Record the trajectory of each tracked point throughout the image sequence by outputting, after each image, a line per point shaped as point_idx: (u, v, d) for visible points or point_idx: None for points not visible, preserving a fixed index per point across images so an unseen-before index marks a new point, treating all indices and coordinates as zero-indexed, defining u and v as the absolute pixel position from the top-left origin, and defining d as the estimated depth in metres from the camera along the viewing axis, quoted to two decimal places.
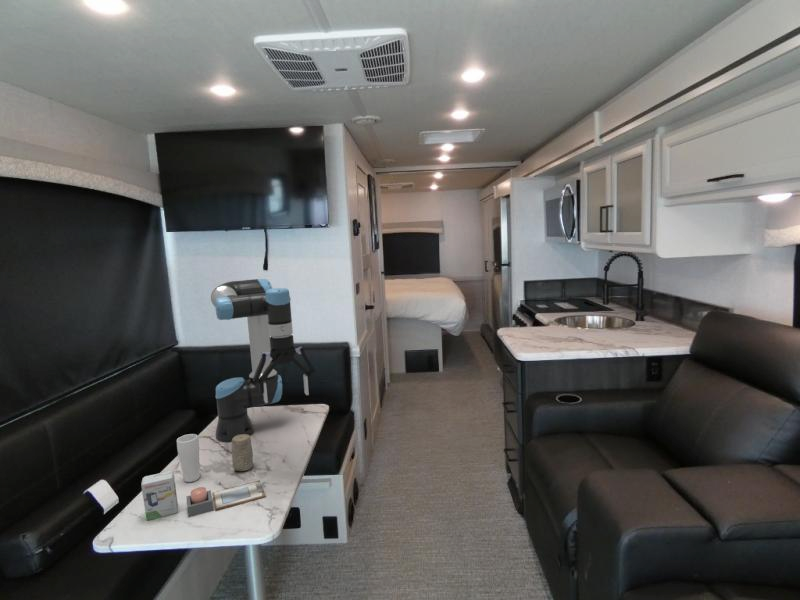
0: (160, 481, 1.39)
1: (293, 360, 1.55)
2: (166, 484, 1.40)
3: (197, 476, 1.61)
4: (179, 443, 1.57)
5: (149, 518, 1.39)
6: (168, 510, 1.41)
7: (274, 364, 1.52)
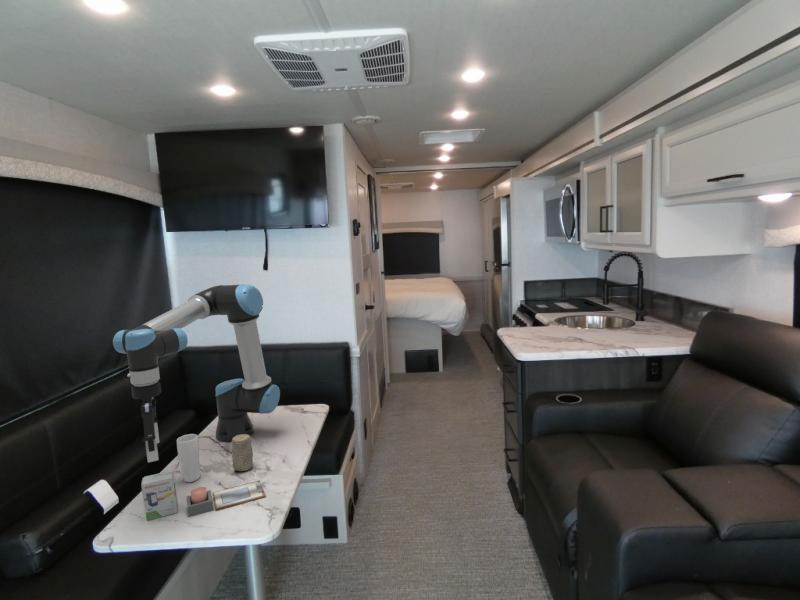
0: (160, 481, 1.39)
1: None
2: (166, 484, 1.40)
3: (197, 476, 1.61)
4: (179, 443, 1.57)
5: (149, 518, 1.39)
6: (168, 510, 1.41)
7: None
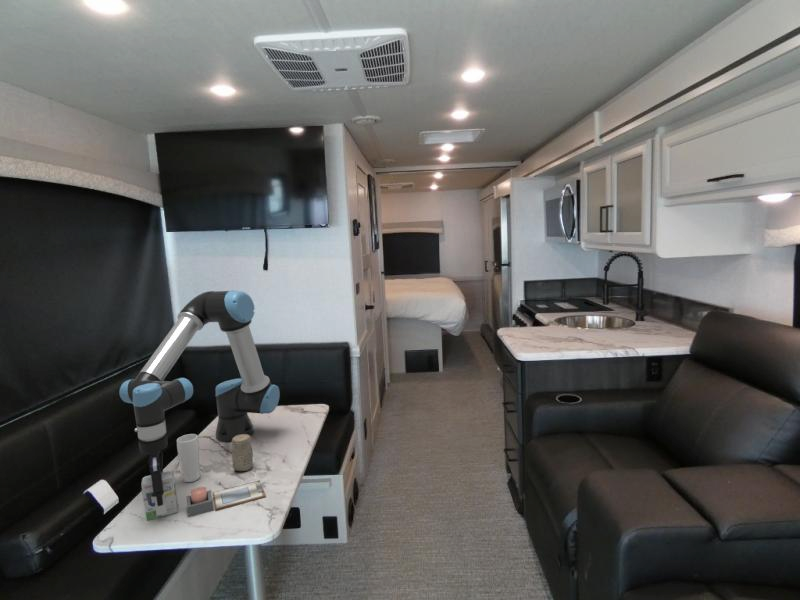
0: None
1: (149, 469, 1.38)
2: (166, 484, 1.40)
3: (197, 476, 1.61)
4: (179, 443, 1.57)
5: (149, 518, 1.39)
6: (168, 510, 1.41)
7: None
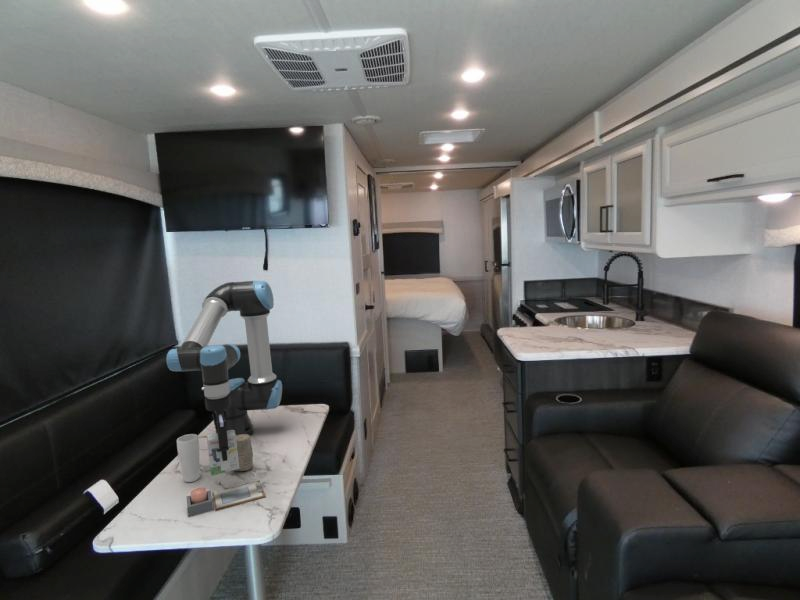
0: None
1: (215, 426, 1.46)
2: (230, 441, 1.48)
3: (197, 476, 1.61)
4: (179, 443, 1.57)
5: (214, 473, 1.47)
6: (231, 466, 1.48)
7: (214, 423, 1.49)
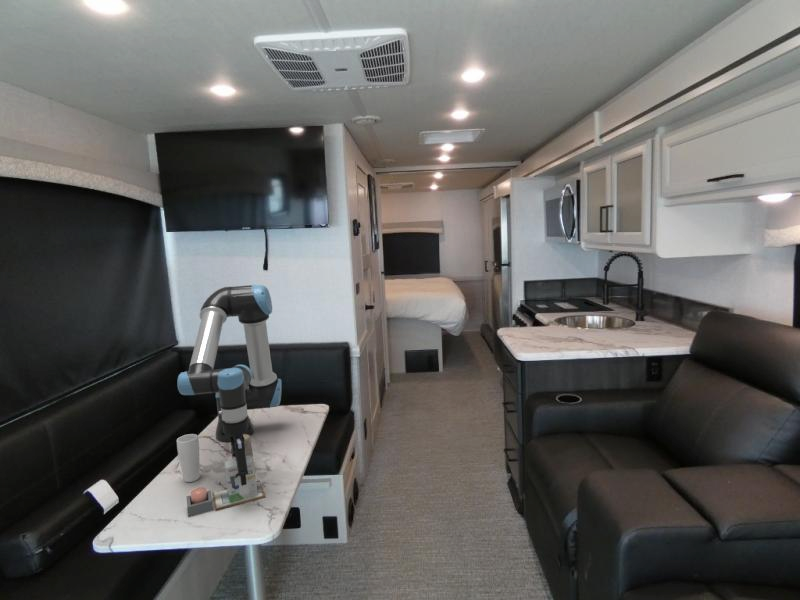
0: None
1: (233, 449, 1.43)
2: (248, 468, 1.46)
3: (197, 476, 1.61)
4: (179, 443, 1.57)
5: (232, 500, 1.45)
6: (249, 493, 1.47)
7: None
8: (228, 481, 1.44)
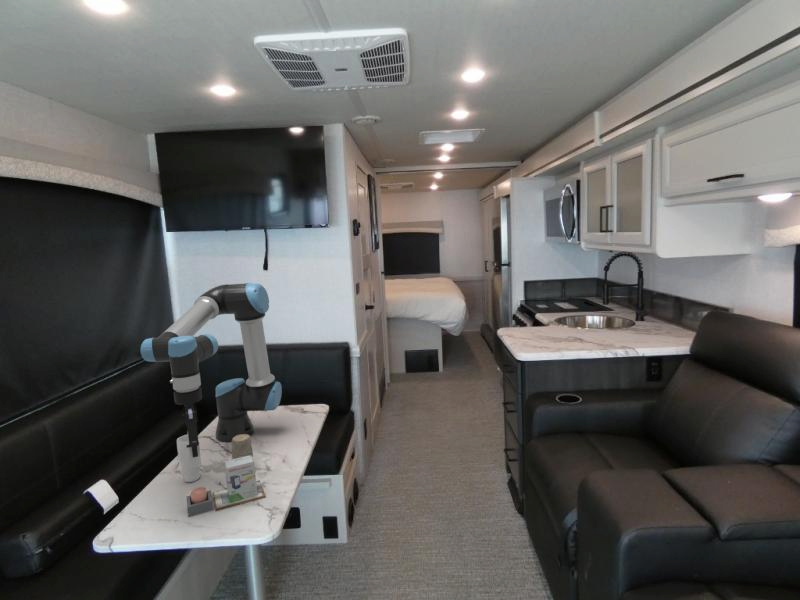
0: (242, 464, 1.45)
1: None
2: (248, 468, 1.46)
3: (197, 476, 1.61)
4: (179, 443, 1.57)
5: (232, 500, 1.45)
6: (249, 493, 1.47)
7: None
8: (228, 481, 1.44)
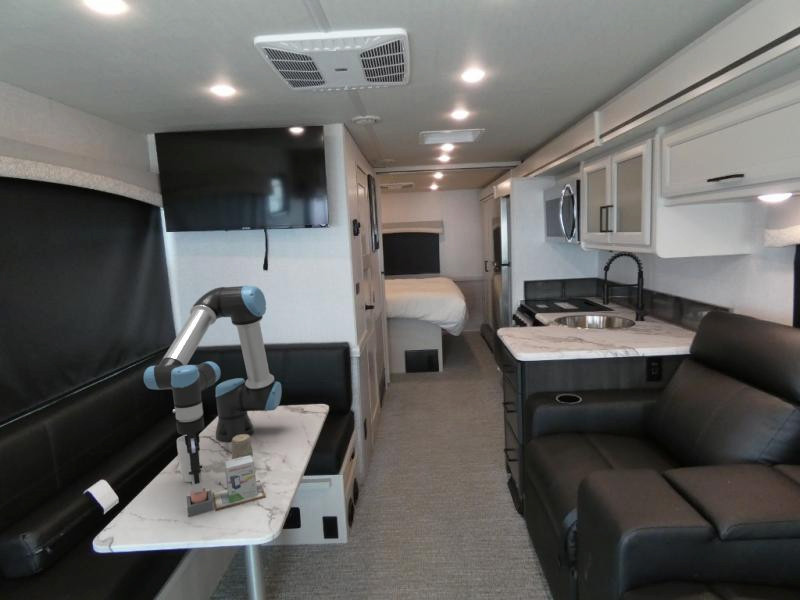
0: (242, 464, 1.45)
1: (187, 449, 1.40)
2: (248, 468, 1.46)
3: None
4: (179, 443, 1.57)
5: (232, 500, 1.45)
6: (249, 493, 1.47)
7: None
8: (228, 481, 1.44)
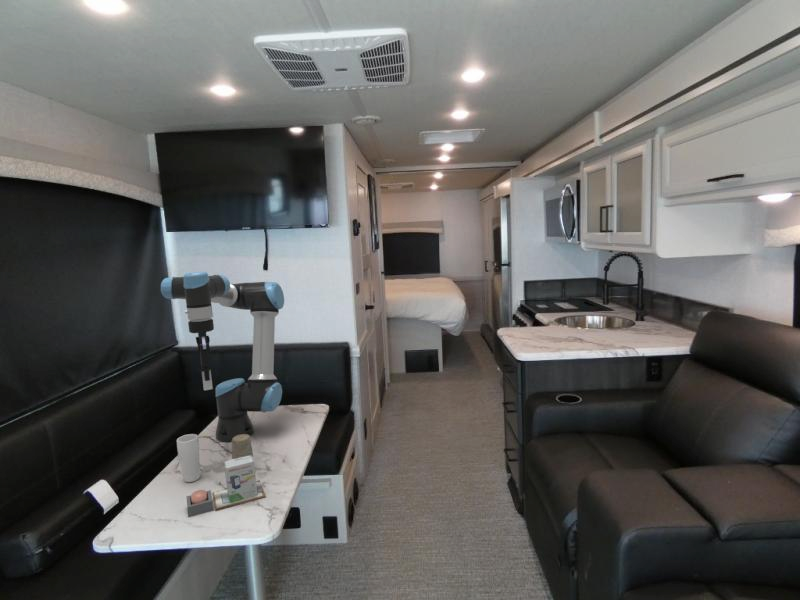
0: (242, 464, 1.45)
1: (198, 348, 1.52)
2: (248, 467, 1.46)
3: (197, 476, 1.61)
4: (179, 443, 1.57)
5: (232, 500, 1.45)
6: (249, 493, 1.47)
7: None
8: (228, 481, 1.44)
